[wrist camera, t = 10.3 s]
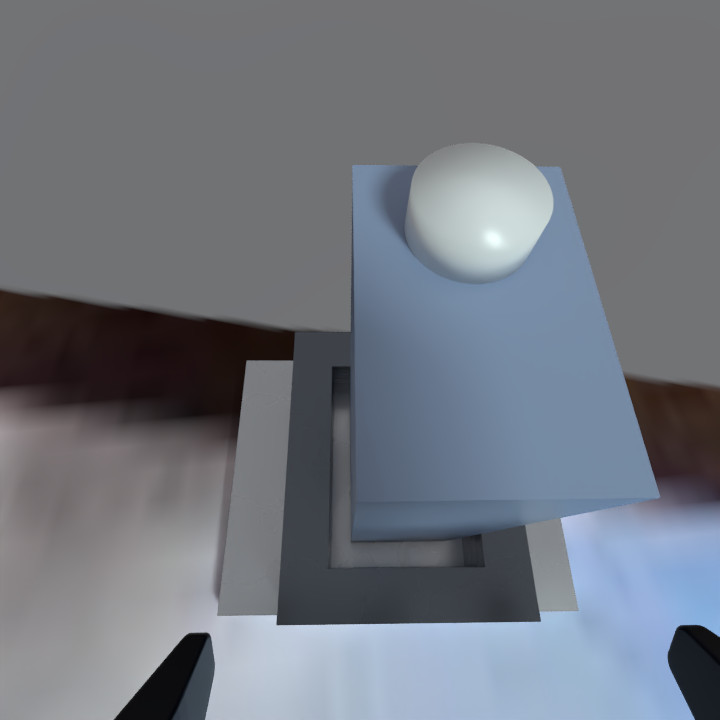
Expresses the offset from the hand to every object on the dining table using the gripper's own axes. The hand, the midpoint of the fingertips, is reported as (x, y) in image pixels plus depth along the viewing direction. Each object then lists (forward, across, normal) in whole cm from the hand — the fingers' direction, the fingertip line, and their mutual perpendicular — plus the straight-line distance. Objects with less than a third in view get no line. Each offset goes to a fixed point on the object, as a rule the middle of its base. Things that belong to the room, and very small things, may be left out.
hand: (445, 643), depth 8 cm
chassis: (+10, 0, +3) cm, 10 cm away
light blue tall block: (+9, 0, +2) cm, 9 cm away
